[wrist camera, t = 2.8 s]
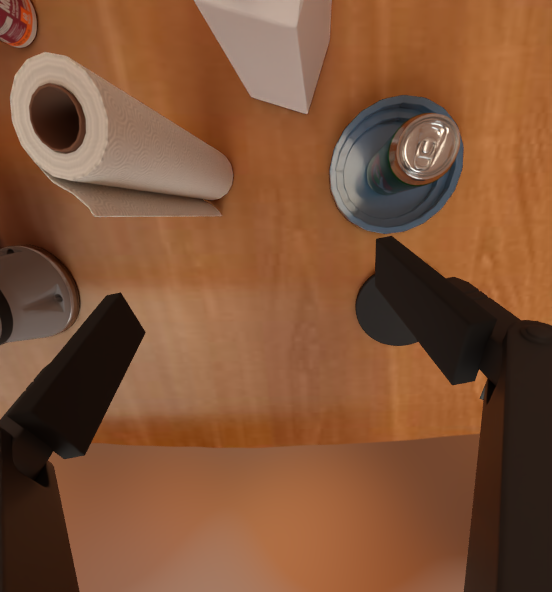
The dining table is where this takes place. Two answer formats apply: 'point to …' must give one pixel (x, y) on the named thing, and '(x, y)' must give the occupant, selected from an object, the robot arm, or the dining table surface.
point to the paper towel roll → (112, 145)
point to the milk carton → (273, 45)
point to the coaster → (380, 317)
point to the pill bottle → (17, 22)
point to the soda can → (415, 154)
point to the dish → (357, 155)
